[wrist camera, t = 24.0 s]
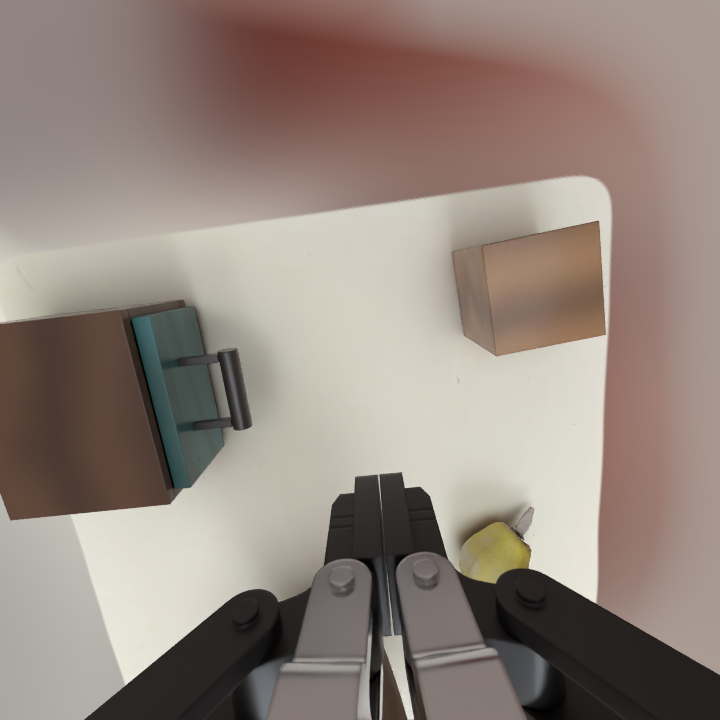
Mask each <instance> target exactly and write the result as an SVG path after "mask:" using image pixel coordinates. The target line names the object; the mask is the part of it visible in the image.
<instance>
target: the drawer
mask: <svg viewBox="0 0 720 720" xmlns="http://www.w3.org/2000/svg"><path fill="white" fill-rule="evenodd" d="M131 327H132V331H133V335H134V339H135V343H136V347H137V351H138V354H139V358H140V360H142V362H143V366H144V370H145V374H146V378H147V382H148V386H149V389H150V393H151V397H152V401H153V405H154V409H155V413H156V417H157V421H156V424H157V428H158V432H159V436H160V440H161V444H162V448H163V452H164V456H165V460H166V463H167V467H168V468H170V472H171V476H172V479H173V483H174V487H175V489H181V488H190V487H192V485H193V484H194V483H195V481H196V480H197V479H198V478H199V476H200V475H201V474H202V473H203V471H204V470H205V469H206V468H207V466H208V465H209V464H210V463H211V461H212V460H213V459H214V457H215V456H216V455H217V454H218V452H219V451H220V450H221V449H222V447H223V446H224V442H223V437H222V432H221V428H225V427H232V426H233V429H234V430H244V429H247V428H249V427H251V426H252V420H251V415H250V410H249V404H248V399H247V394H246V389H245V384H244V379H243V374H242V368H241V363H240V358H239V353H238V349H237V348H228V349H223V350H220V351H218V353H215V354H206V355H205V354H204V349H203V344H202V340H201V335H200V331H199V326H198V321H197V317H196V312H195V307H194V306H190V307H182V308H176V309H172V310H167V311H162V312H157V313H152V314H147V315H142V316H137V317H133V318H132V322H131ZM218 362H220V367H221V372H222V376H223V381H224V386H225V391H226V396H227V400H228V405H229V410H230V415H231V417H227V418H218V414H217V409H216V405H215V400H214V395H213V391H212V386H211V381H210V377H209V372H208V368H207V364H210V363H218Z"/></svg>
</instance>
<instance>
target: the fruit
mask: <svg viewBox="0 0 720 720" xmlns="http://www.w3.org/2000/svg"><path fill="white" fill-rule="evenodd" d="M533 513H534V508H532V507H529V509H528V510H527V511H525V513H524V514H523V516H522V517H521V518H520V520H519V522H518V523H517V525H515V527H514V528H511V529H510V528H509V527H508V526H507V524H506V523H504V522H494V523H492V524H491V525H489V526H487V527H485V528H484V529H482V530H481V531H479V532H477V533H476V534H474V535H473V536H471V537H470V538H469V539H468V540H467V541H466V542H465V543H464V545H463V546H462V548H461V551H460V555H459V565H460V569H461V573H462V574H463V575H465V576H467V577H469V578H472V579H475V580H479V581H484V582H489V583H494V584H496V581H497V579H498V578H499V576H500V575H501V574H503V573H504V572H506V571H508V570H511V569H517V568H525V569H529V568H528V566H529V561H530V557H531V549H530V547H529V545H527V544H526V543H525V542H523V541H522V540H521V539H520V538H522V539H523V540H524V538H523V535H524V534H525V532H526V531H527V530H528V528H529V526H530V525H531V522H532V517H533ZM519 537H520V538H519Z"/></svg>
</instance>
